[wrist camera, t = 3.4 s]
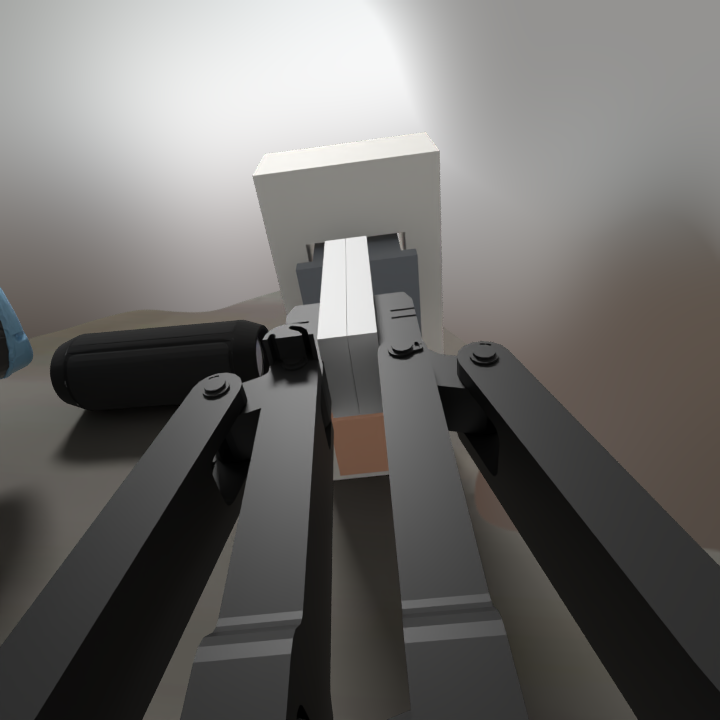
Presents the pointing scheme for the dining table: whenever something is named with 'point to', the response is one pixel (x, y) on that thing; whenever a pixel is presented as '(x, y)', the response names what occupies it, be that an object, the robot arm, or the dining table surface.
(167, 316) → the dining table surface
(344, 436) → the lower button
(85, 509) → the dining table surface
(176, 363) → the portable speaker
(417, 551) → the robot arm
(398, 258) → the upper button
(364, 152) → the button panel
